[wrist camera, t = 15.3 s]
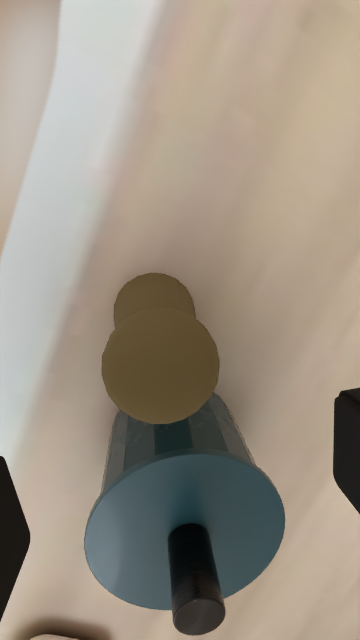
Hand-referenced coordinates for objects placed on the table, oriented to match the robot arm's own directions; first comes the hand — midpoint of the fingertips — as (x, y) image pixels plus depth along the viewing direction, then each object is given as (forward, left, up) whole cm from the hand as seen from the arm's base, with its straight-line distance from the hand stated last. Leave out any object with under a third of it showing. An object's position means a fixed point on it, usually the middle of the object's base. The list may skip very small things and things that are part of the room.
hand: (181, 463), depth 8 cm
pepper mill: (0, -1, -15) cm, 15 cm away
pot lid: (0, +10, -6) cm, 12 cm away
